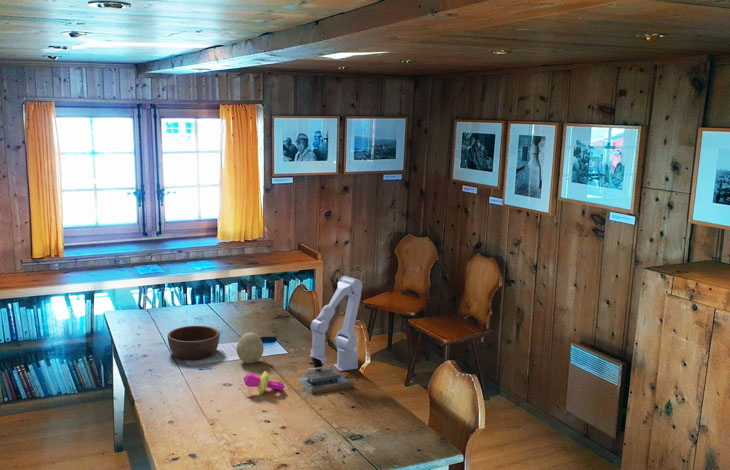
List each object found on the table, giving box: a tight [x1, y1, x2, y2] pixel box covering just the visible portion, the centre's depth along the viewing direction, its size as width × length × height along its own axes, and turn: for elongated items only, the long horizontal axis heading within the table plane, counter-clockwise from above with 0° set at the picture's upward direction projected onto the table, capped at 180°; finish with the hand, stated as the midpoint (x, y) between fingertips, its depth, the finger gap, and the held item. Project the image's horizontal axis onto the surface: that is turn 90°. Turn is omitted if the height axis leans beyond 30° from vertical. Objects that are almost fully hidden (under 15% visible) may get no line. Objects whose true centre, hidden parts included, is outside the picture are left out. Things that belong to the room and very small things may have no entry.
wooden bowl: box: [166, 325, 221, 361], centre depth 336 cm, size 25×25×10 cm
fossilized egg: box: [236, 331, 264, 364], centre depth 326 cm, size 13×13×15 cm
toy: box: [243, 370, 285, 396], centre depth 293 cm, size 10×18×10 cm, turn 104°
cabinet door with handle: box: [304, 365, 342, 384], centre depth 308 cm, size 14×9×4 cm, turn 116°
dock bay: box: [296, 373, 355, 395], centre depth 306 cm, size 20×18×3 cm
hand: (317, 372), depth 313 cm, fingers closed
